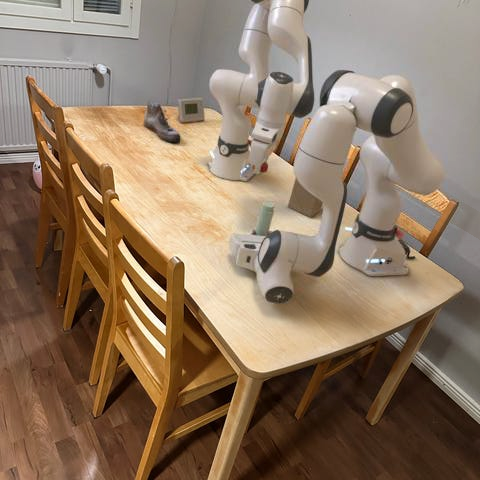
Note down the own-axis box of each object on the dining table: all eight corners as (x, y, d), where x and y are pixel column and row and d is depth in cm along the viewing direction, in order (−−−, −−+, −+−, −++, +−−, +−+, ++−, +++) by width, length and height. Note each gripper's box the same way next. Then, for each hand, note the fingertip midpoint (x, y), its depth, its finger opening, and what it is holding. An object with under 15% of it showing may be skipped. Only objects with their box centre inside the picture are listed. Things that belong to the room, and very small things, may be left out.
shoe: (184, 144, 195) (187, 117, 189) (160, 144, 190) (163, 116, 183) (163, 123, 212) (165, 98, 206) (141, 123, 207) (143, 97, 200)
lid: (270, 170, 143) (271, 165, 142) (261, 173, 139) (263, 168, 138) (257, 165, 145) (259, 159, 144) (249, 168, 141) (250, 162, 140)
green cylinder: (249, 249, 135) (260, 204, 126) (253, 243, 138) (264, 199, 130) (261, 254, 134) (273, 209, 126) (265, 247, 137) (277, 203, 129)
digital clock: (179, 123, 216) (182, 102, 211) (171, 117, 222) (173, 96, 216) (207, 123, 225) (211, 102, 220) (199, 116, 231) (202, 96, 225)
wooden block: (310, 217, 160) (327, 167, 149) (286, 207, 163) (301, 157, 153) (321, 209, 167) (337, 160, 157) (298, 198, 171) (312, 150, 160)
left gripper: (268, 118, 144) (259, 157, 152) (250, 133, 127) (240, 177, 134) (286, 123, 143) (276, 163, 150) (270, 140, 126) (260, 183, 133)
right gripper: (306, 253, 123) (295, 226, 134) (235, 246, 119) (230, 219, 130) (300, 270, 126) (290, 243, 138) (230, 264, 122) (226, 237, 133)
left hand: (259, 170), depth 142 cm, fingers closed on lid, 5 cm apart
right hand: (260, 231), depth 134 cm, fingers closed on green cylinder, 4 cm apart
